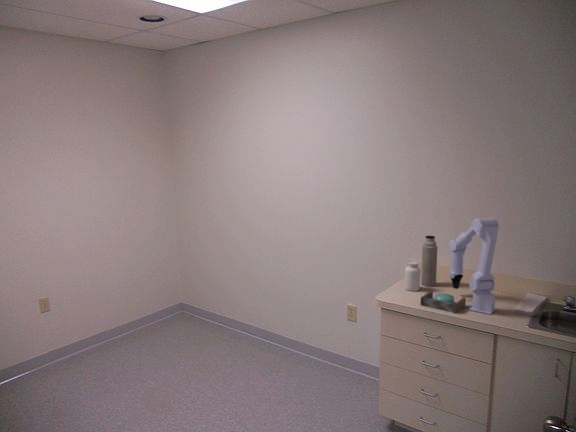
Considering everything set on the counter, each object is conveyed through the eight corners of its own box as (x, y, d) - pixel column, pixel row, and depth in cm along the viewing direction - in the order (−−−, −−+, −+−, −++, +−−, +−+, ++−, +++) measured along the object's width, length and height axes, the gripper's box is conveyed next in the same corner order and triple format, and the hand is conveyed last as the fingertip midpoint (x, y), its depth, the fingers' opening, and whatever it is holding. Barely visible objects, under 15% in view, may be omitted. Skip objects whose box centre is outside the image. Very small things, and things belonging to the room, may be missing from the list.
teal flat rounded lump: (454, 302, 211) (455, 295, 210) (452, 308, 203) (452, 300, 203) (436, 300, 215) (436, 292, 215) (432, 305, 207) (433, 297, 207)
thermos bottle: (427, 281, 245) (428, 234, 240) (438, 284, 238) (440, 236, 234) (418, 284, 240) (419, 235, 236) (429, 287, 234) (431, 238, 229)
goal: (465, 305, 206) (465, 297, 206) (456, 313, 197) (457, 305, 196) (430, 298, 217) (430, 290, 217) (420, 305, 208) (420, 297, 207)
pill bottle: (420, 291, 227) (421, 264, 225) (405, 291, 229) (405, 264, 227) (419, 287, 235) (419, 261, 233) (404, 286, 237) (404, 260, 234)
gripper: (453, 259, 226) (452, 283, 228) (444, 264, 215) (443, 290, 217) (467, 261, 222) (466, 285, 224) (458, 266, 211) (457, 293, 213)
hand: (455, 288), depth 220 cm, fingers closed
